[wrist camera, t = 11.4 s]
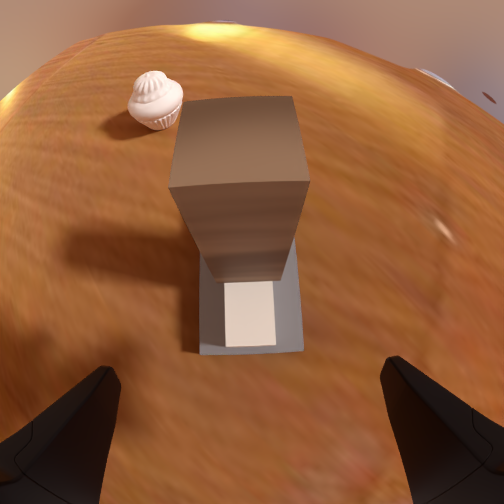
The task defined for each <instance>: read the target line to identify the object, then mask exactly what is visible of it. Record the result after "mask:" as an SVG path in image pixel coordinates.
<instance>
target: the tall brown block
mask: <svg viewBox="0 0 504 504" xmlns="http://www.w3.org/2000/svg"><path fill="white" fill-rule="evenodd" d="M309 183H310V177H309V172H308V166H307V161H306V156H305V151H304V146H303V142H302V137H301V132H300V128H299V123H298V119H297V115H296V110H295V106H294V102H293V98H292V96H250V97H230V98H216V99H205V100H196V101H187V102H184V103H183V107H182V112H181V117H180V122H179V127H178V132H177V137H176V143H175V148H174V154H173V160H172V166H171V172H170V179H169V186H168V188H169V190H170V192H171V195H172V197H173V199H174V201H175V203H176V205H177V207H178V209H179V211H180V213H181V215H182V217H183V219H184V221H185V223H186V225H187V227H188V229H189V231H190V233H191V235H192V237H193V239H194V241H195V243H196V245H197V247H198V249H199V251H200V253H201V255H202V257H203V258H204V260H205V262H206V264H207V266H208V268H209V270H210V272H211V274H212V276H213V277H214V279H215V281H216V283H239V282H263V281H281V278H282V274H283V271H284V268H285V265H286V262H287V258H288V255H289V252H290V249H291V245H292V242H293V239H294V235H295V232H296V229H297V225H298V222H299V218H300V215H301V212H302V208H303V205H304V201H305V198H306V194H307V191H308V187H309Z"/></svg>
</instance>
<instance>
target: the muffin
mask: <svg viewBox="0 0 504 504" xmlns="http://www.w3.org/2000/svg"><path fill="white" fill-rule="evenodd" d="M133 89H134V92H133V94H132V96H131V98H130V100H129V102H128V110H129V113H130V114H131V116H132V117H134V118H135V119H136V120H138V122H140V123H142V124H144V125H145V126H147V127H149V128H151V129H153V130H162V129H165V128H168V127H170V126H171V125H172V124H173V123H174V122H175V121H176V118H177V115H178V112H179V110H180V107H181V104H182V98H183V91H182V88H181V86H180V85H179V84H178V83H177V82H175V81H173V80H170V79H168V78H167V77H166V75H165V74H164V73H162V72H160V71H150V72H148V73H145V74H142V75H141V76H140V77H138V78H137V80H136V81H135V82H134V86H133Z"/></svg>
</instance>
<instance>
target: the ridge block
mask: <svg viewBox="0 0 504 504" xmlns="http://www.w3.org/2000/svg"><path fill="white" fill-rule="evenodd" d="M199 340H200V355H239V354H265V353H282V352H295V351H304V343H303V328H302V314H301V302H300V290H299V278H298V268H297V258H296V248H295V239H293V242H292V245H291V249H290V252H289V255H288V258H287V262H286V265H285V268H284V271H283V274H282V278H281V281H263V282H239V283H216V281H215V279H214V277H213V276H212V274H211V272H210V270H209V268H208V266H207V264H206V262H205V260H204V258H203V257H202V255H201V253H200V278H199Z"/></svg>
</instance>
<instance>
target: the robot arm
mask: <svg viewBox="0 0 504 504" xmlns="http://www.w3.org/2000/svg"><path fill="white" fill-rule="evenodd" d="M380 381H381V385H382V389H383V394H384V398H385V403H386V408H387V412H388V417H389V420H390V423H391V426H392V429H393V432H394V436H395V439H396V442H397V445H398V449H399V452H400V455H401V459H402V462H403V466H404V469H405V473H406V476H407V480H408V484H409V488H410V492H411V496H412V500H413V504H504V427H502V426H500V425H498V424H497V423H495V422H493V421H492V420H490V419H488V418H487V417H485V416H484V415H482V414H481V413H479V412H478V411H476V410H475V409H474V408H471V406H469V405H468V404H466V403H465V402H464V401H462V400H461V399H459V398H458V397H457V396H455V395H454V394H452V393H451V392H449V391H448V390H447V389H445V388H444V387H442V386H441V385H440V384H438V383H437V382H435V381H434V380H432V379H431V378H430V377H428V376H427V375H425V374H424V373H423V372H421V371H420V370H418V369H417V368H415V367H414V366H413V365H411V364H410V363H408V362H407V361H406V360H404V359H403V358H401V357H400V356H392V357H388V358H387V359H386V361H385V363H384V366H383V368H382V371H381V374H380ZM120 391H121V383H120V381H119V379H118V377H117V375H116V373H115V371H114V369H113V368H112V367H110V366H100V367H98V368H97V369H96V370H95V371H93V372H92V373H91V374H90V375H88V376H87V377H86V378H84V379H83V380H82V381H81V382H79V383H78V384H77V385H76V386H74V387H73V388H72V389H71V390H69V391H68V392H67V393H66V394H64V395H63V396H62V397H61V398H59V399H58V400H57V401H56V402H54V403H53V404H52V405H51V406H49V407H48V408H47V409H46V410H44V411H43V412H42V413H41V414H39V415H38V416H37V417H36V418H34V419H33V421H31V422H29V423H28V424H27V425H26V426H24V427H23V428H22V429H20V430H19V431H18V432H16V433H15V434H13V435H12V436H10V437H9V438H7V439H6V440H4V441H3V442H1V443H0V504H99V499H100V493H101V488H102V482H103V477H104V472H105V467H106V463H107V458H108V454H109V449H110V445H111V441H112V437H113V433H114V428H115V424H116V417H117V410H118V404H119V397H120Z"/></svg>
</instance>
